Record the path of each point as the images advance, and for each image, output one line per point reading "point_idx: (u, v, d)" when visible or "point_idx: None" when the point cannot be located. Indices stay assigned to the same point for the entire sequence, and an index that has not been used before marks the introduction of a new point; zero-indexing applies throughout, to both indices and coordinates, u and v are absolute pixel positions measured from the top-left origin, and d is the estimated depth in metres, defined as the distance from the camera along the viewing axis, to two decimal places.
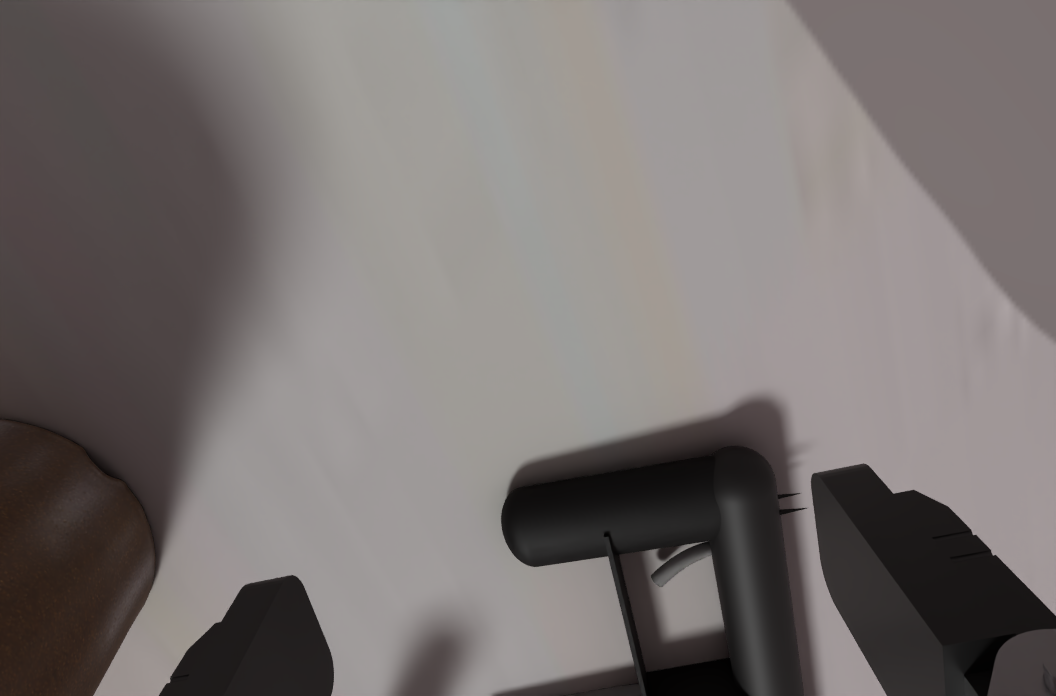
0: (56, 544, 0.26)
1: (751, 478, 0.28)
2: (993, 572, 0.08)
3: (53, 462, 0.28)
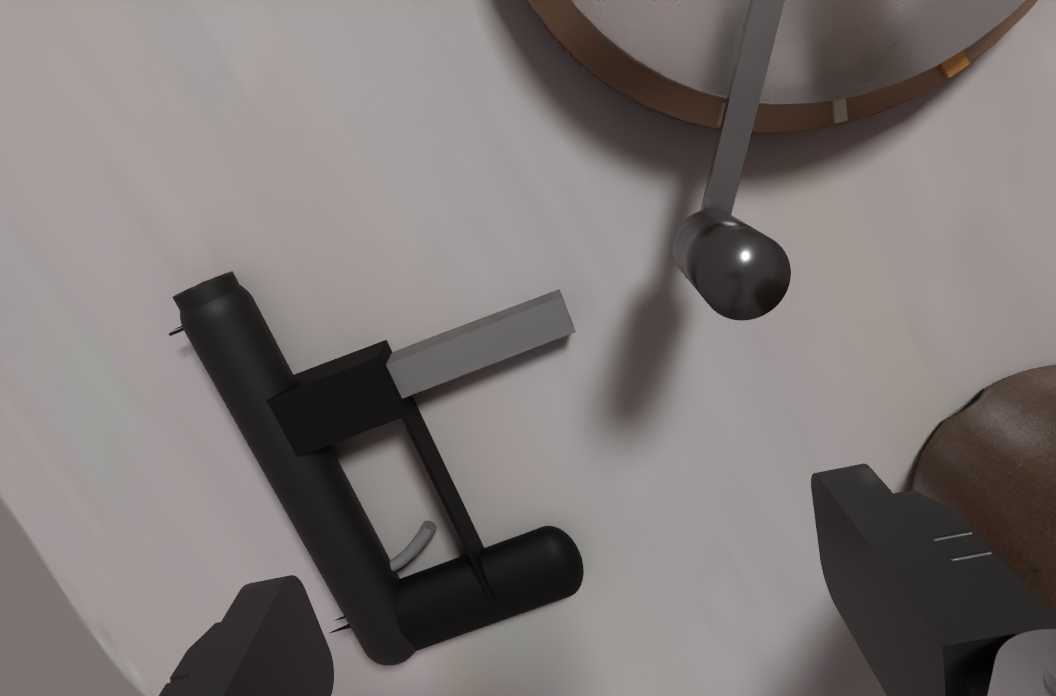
0: None
1: (387, 664, 0.34)
2: (993, 572, 0.08)
3: None
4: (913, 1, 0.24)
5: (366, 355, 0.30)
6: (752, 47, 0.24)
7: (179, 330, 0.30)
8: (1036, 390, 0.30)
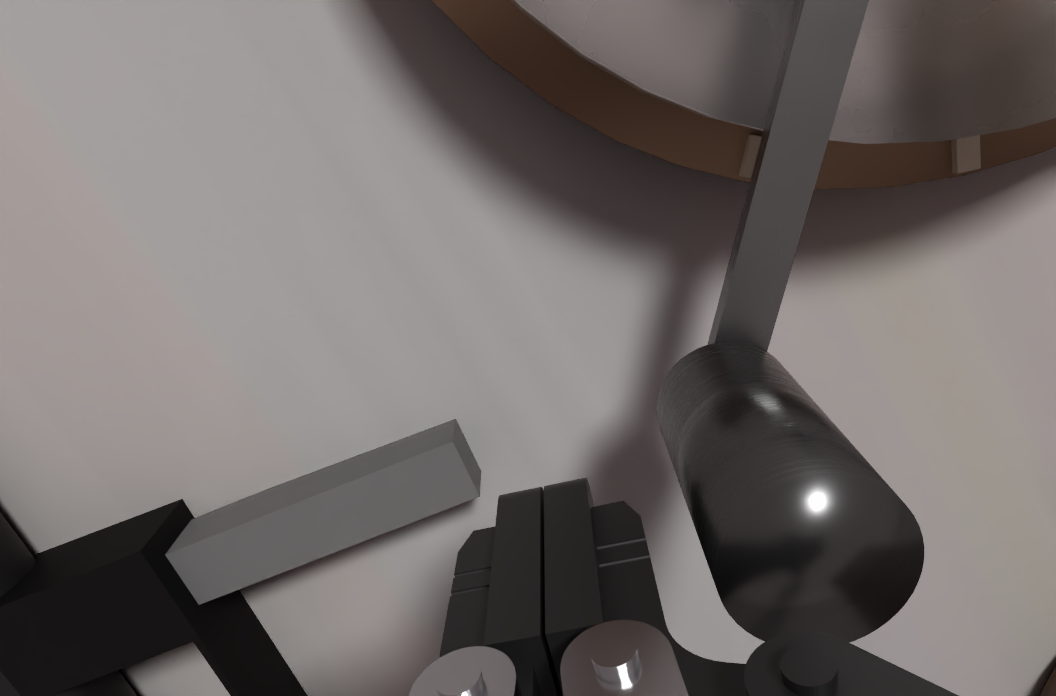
0: None
1: None
2: (639, 573, 0.10)
3: None
4: None
5: (134, 537, 0.18)
6: (818, 31, 0.12)
7: None
8: None
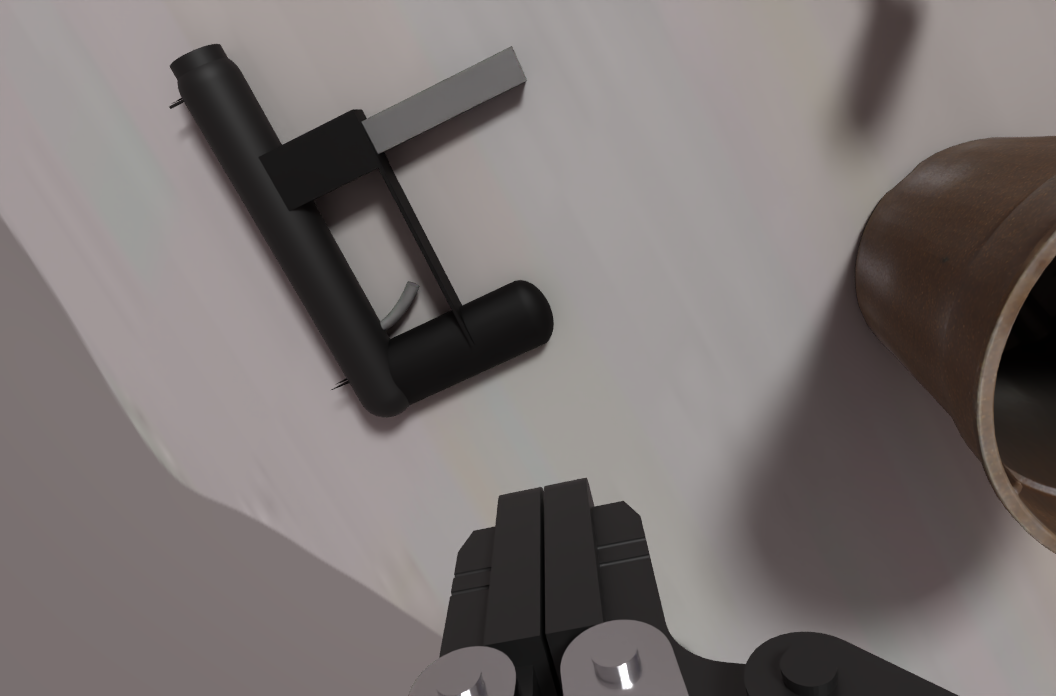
0: (906, 366, 0.34)
1: (383, 414, 0.38)
2: (640, 572, 0.10)
3: None
4: None
5: None
6: None
7: (178, 103, 0.34)
8: (959, 152, 0.34)
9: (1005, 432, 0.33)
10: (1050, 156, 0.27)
